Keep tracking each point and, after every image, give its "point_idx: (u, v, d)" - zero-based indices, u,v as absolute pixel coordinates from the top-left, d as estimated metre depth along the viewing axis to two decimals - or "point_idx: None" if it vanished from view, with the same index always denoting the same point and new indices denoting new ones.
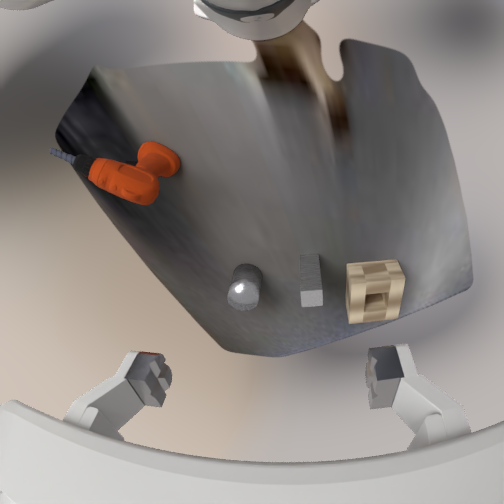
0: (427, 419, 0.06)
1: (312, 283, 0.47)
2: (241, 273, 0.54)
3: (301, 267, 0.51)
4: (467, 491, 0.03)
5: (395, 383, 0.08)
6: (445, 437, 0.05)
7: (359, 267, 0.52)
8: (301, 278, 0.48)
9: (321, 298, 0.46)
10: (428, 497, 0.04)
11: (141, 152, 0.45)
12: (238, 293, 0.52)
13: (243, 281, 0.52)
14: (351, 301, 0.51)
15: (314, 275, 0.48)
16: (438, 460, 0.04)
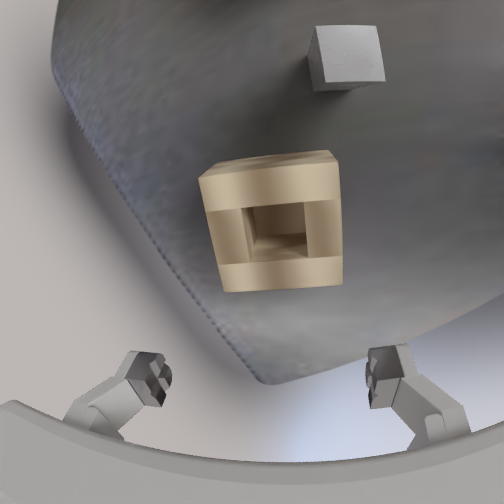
0: (427, 419, 0.06)
1: None
2: None
3: None
4: (467, 491, 0.03)
5: (395, 383, 0.08)
6: (445, 437, 0.05)
7: None
8: None
9: (353, 78, 0.13)
10: (428, 497, 0.04)
11: None
12: None
13: None
14: (279, 169, 0.20)
15: None
16: (438, 460, 0.04)
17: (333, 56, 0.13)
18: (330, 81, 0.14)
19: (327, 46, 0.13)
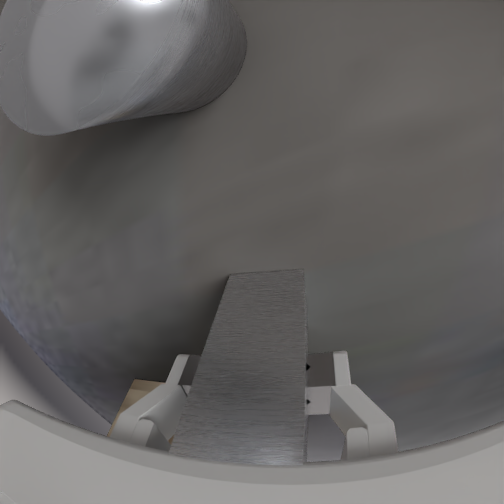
0: (350, 432, 0.07)
1: None
2: (229, 6, 0.06)
3: None
4: (467, 490, 0.03)
5: (326, 391, 0.09)
6: (366, 453, 0.06)
7: None
8: (305, 399, 0.08)
9: None
10: (428, 497, 0.04)
11: None
12: None
13: None
14: None
15: None
16: (438, 460, 0.04)
17: None
18: None
19: None
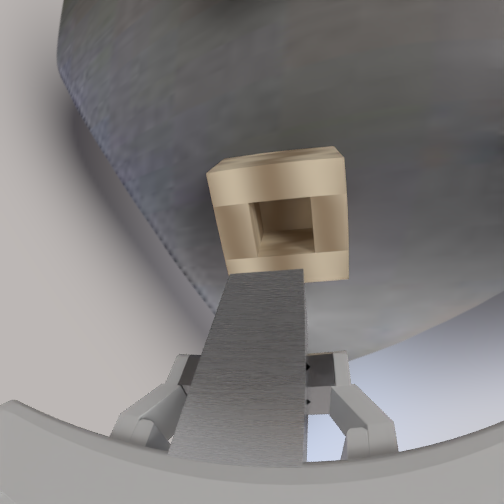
0: (350, 432, 0.07)
1: None
2: None
3: (304, 329, 0.10)
4: (467, 490, 0.03)
5: (326, 391, 0.09)
6: (366, 453, 0.06)
7: None
8: (305, 398, 0.07)
9: None
10: (428, 497, 0.04)
11: None
12: None
13: None
14: (286, 164, 0.20)
15: None
16: (438, 460, 0.04)
17: None
18: None
19: None
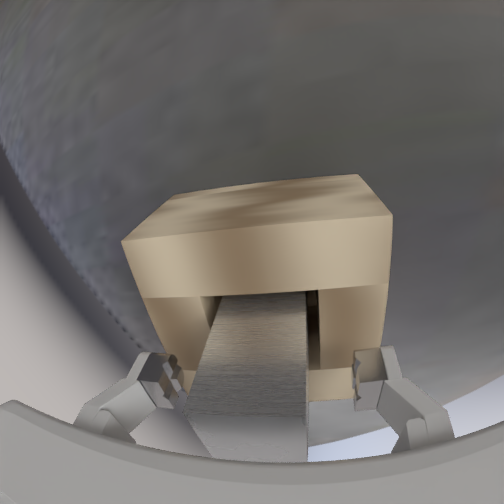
0: (409, 423, 0.06)
1: None
2: None
3: None
4: (467, 490, 0.03)
5: (378, 385, 0.08)
6: (427, 442, 0.06)
7: None
8: (306, 339, 0.10)
9: (255, 459, 0.09)
10: (428, 497, 0.04)
11: None
12: None
13: None
14: (271, 229, 0.10)
15: None
16: (438, 460, 0.04)
17: (220, 443, 0.08)
18: None
19: (208, 434, 0.08)
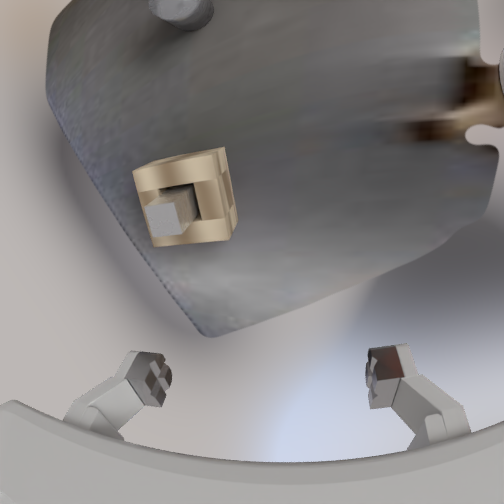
0: (427, 419, 0.06)
1: (184, 214, 0.30)
2: None
3: (194, 187, 0.33)
4: (467, 491, 0.03)
5: (395, 383, 0.08)
6: (445, 437, 0.05)
7: (224, 166, 0.35)
8: (185, 194, 0.31)
9: (165, 234, 0.30)
10: (428, 497, 0.04)
11: None
12: None
13: None
14: (177, 162, 0.31)
15: (190, 211, 0.32)
16: (438, 460, 0.04)
17: (154, 223, 0.29)
18: (155, 236, 0.30)
19: (151, 218, 0.29)
